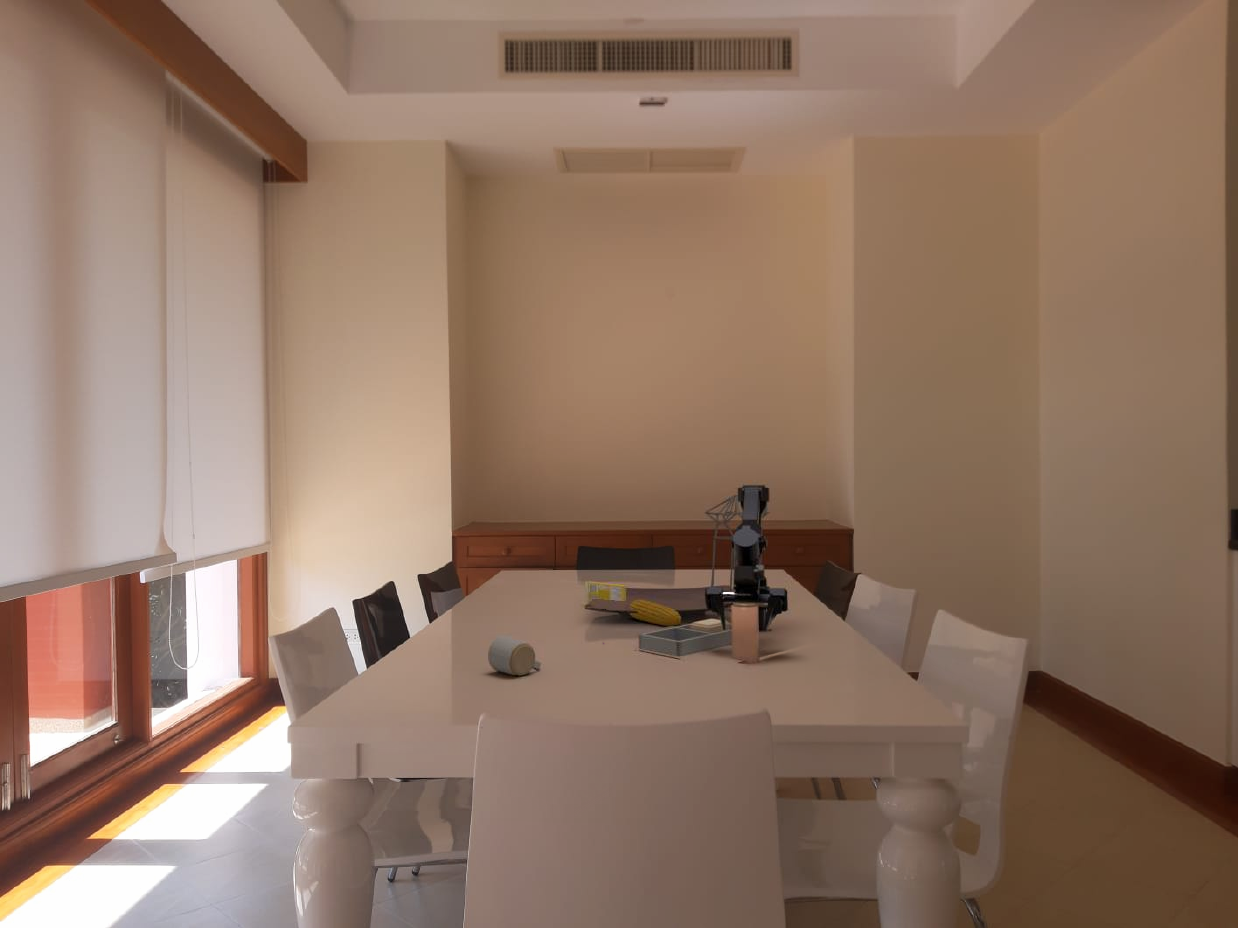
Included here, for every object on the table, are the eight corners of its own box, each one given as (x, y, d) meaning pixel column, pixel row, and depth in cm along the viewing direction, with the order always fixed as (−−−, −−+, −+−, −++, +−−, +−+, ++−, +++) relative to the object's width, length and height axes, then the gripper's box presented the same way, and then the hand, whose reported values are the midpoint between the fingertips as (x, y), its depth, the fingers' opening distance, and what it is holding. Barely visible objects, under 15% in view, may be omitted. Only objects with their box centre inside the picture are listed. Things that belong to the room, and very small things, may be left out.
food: (626, 619, 248) (625, 599, 248) (641, 617, 251) (641, 597, 251) (673, 630, 231) (672, 608, 231) (689, 628, 234) (688, 606, 234)
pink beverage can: (743, 656, 198) (742, 600, 198) (764, 660, 194) (763, 602, 194) (726, 660, 194) (725, 603, 194) (747, 664, 190) (747, 605, 190)
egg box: (711, 635, 218) (711, 618, 218) (730, 639, 214) (730, 621, 214) (690, 640, 213) (690, 622, 213) (709, 644, 208) (708, 625, 208)
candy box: (626, 612, 260) (626, 585, 260) (622, 613, 259) (621, 585, 259) (589, 606, 271) (589, 580, 271) (584, 607, 270) (584, 581, 270)
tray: (707, 635, 222) (707, 620, 222) (747, 642, 213) (747, 626, 213) (638, 651, 205) (638, 634, 205) (679, 659, 196) (678, 641, 196)
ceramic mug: (511, 679, 179) (511, 642, 179) (487, 673, 185) (487, 637, 185) (549, 671, 187) (549, 636, 187) (525, 665, 193) (525, 631, 193)
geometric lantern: (701, 608, 265) (700, 494, 266) (734, 603, 276) (733, 494, 277) (741, 614, 253) (740, 495, 254) (774, 608, 264) (773, 494, 265)
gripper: (705, 552, 200) (699, 607, 190) (786, 552, 196) (786, 609, 186) (709, 581, 208) (704, 636, 197) (788, 582, 204) (787, 638, 193)
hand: (744, 629), depth 193 cm, fingers open, 9 cm apart
